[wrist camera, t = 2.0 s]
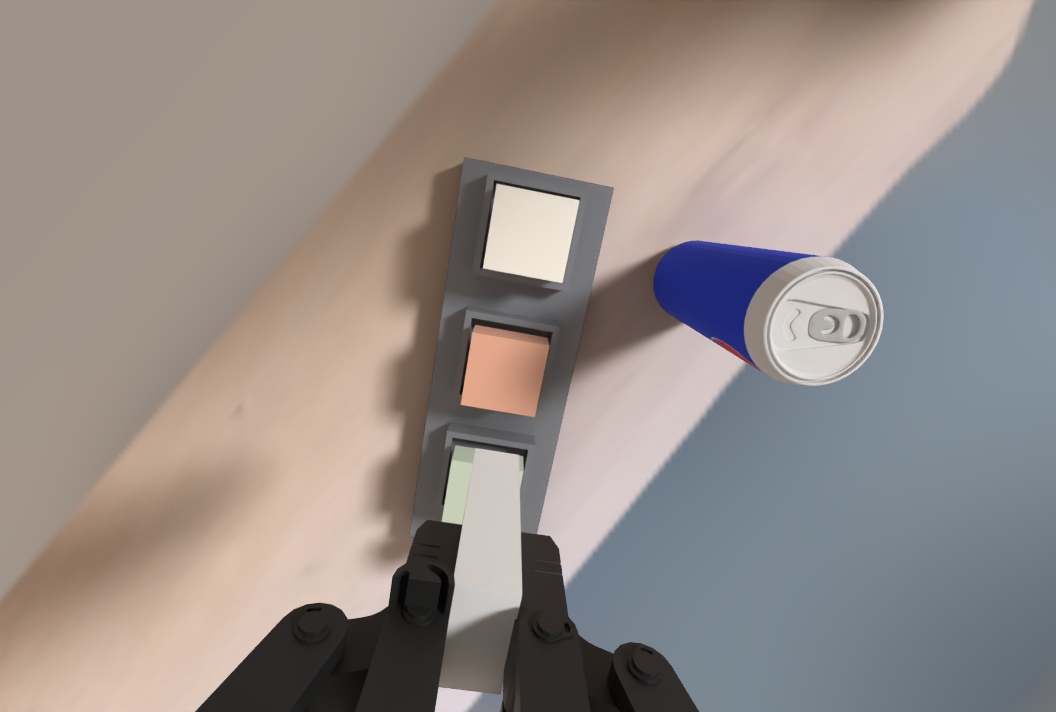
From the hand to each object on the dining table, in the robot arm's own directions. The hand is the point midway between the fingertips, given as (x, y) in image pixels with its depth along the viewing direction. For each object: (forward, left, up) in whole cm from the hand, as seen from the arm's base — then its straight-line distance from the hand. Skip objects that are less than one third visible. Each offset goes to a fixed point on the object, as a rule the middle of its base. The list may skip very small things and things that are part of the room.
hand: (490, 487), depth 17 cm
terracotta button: (0, 0, -14) cm, 14 cm away
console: (+1, +1, -18) cm, 18 cm away
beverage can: (-13, +1, -18) cm, 22 cm away
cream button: (-5, -7, -14) cm, 16 cm away
